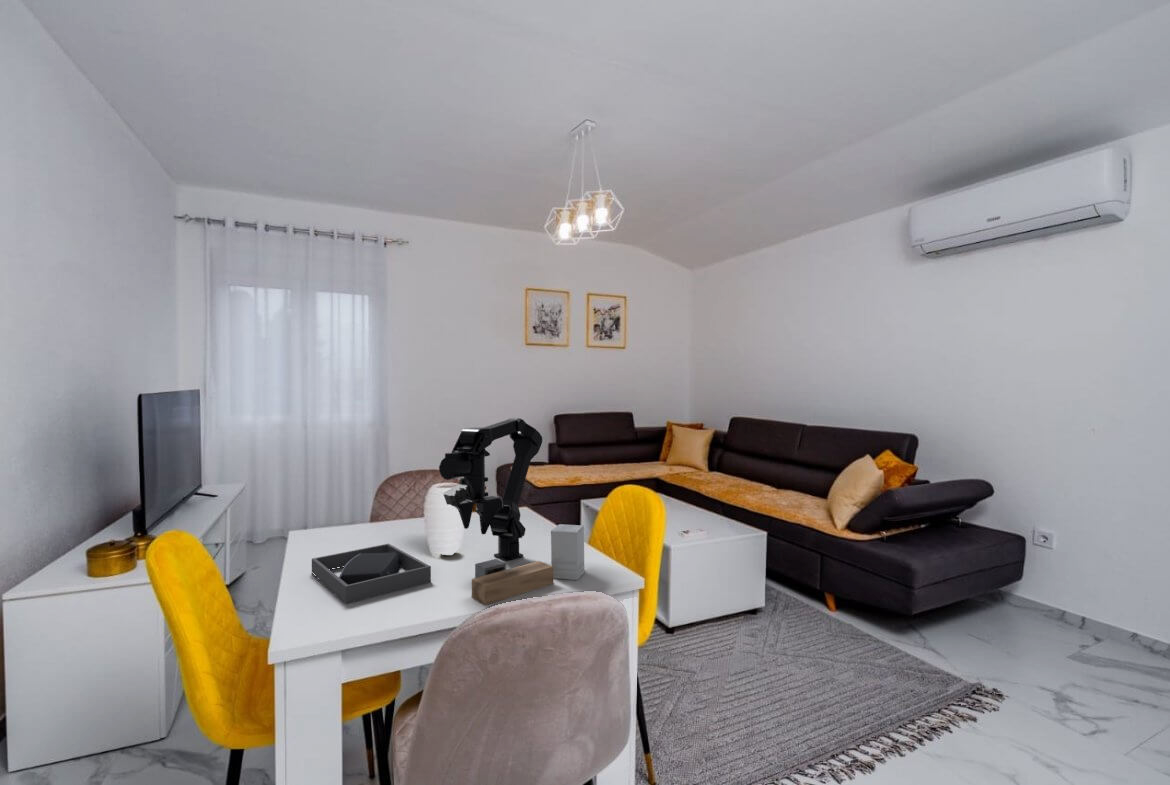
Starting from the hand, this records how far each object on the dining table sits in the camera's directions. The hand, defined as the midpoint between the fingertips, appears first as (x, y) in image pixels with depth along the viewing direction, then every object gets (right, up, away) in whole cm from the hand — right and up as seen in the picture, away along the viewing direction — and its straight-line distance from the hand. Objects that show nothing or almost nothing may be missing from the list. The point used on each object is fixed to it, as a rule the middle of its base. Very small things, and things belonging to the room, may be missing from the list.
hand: (474, 531), depth 145 cm
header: (+11, -11, -12) cm, 20 cm away
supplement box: (+26, -11, -3) cm, 28 cm away
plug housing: (+5, -11, -6) cm, 14 cm away
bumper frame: (-27, -11, -5) cm, 29 cm away
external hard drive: (-27, -11, -5) cm, 29 cm away
